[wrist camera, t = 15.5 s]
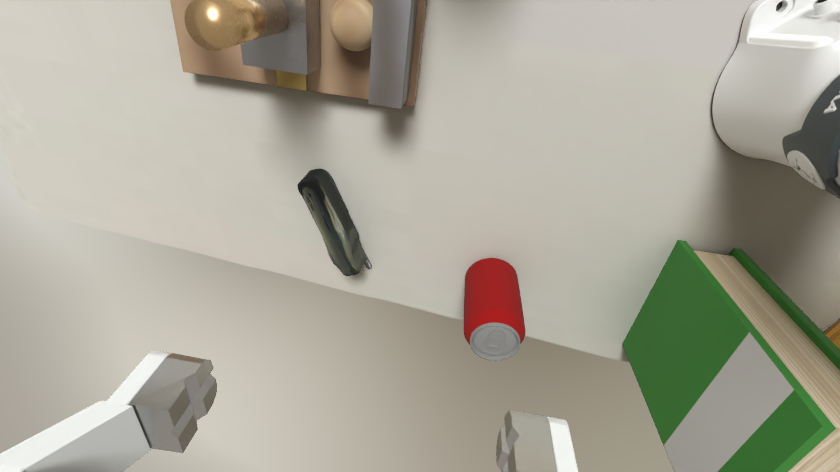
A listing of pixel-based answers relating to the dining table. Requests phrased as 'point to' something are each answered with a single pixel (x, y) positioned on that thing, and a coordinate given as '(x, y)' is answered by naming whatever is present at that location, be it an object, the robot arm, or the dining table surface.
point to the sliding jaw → (260, 31)
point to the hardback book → (735, 369)
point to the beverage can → (493, 309)
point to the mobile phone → (333, 221)
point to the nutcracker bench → (335, 52)
